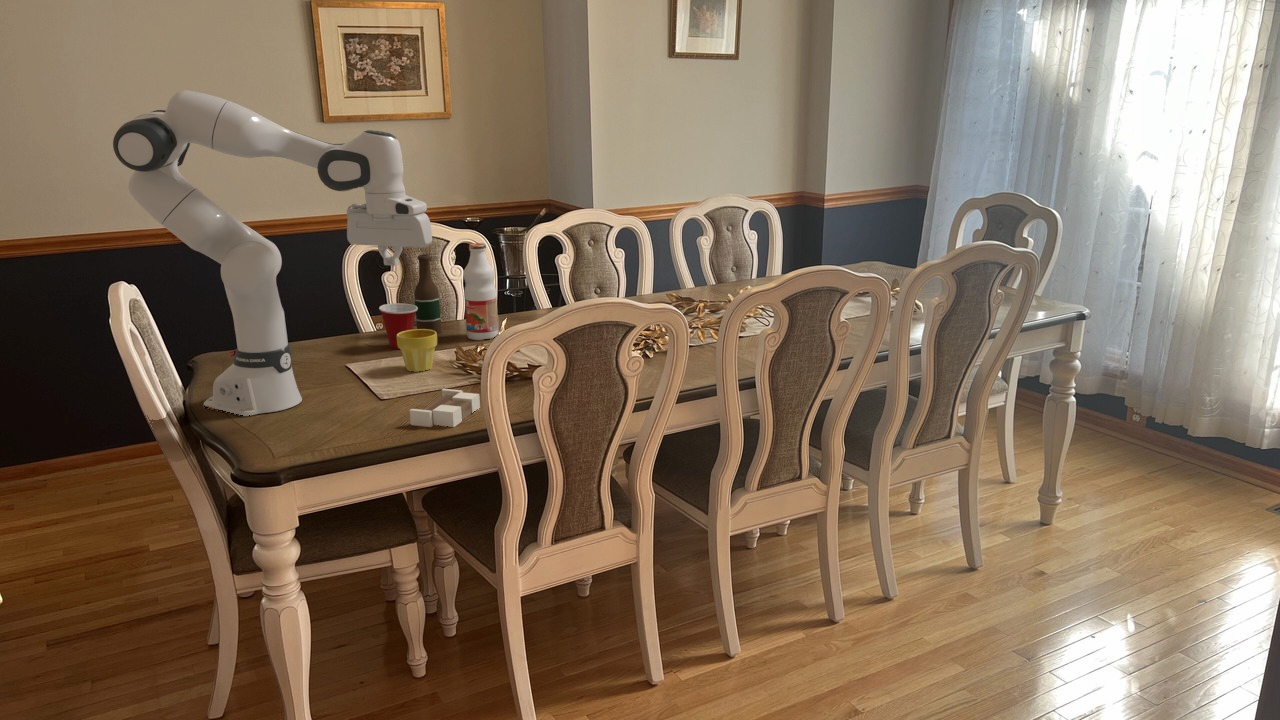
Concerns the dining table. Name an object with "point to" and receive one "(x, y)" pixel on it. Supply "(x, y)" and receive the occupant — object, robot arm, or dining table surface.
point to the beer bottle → (427, 298)
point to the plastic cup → (397, 320)
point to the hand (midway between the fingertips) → (391, 265)
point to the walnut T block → (448, 401)
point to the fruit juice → (480, 295)
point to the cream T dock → (445, 410)
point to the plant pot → (417, 348)
